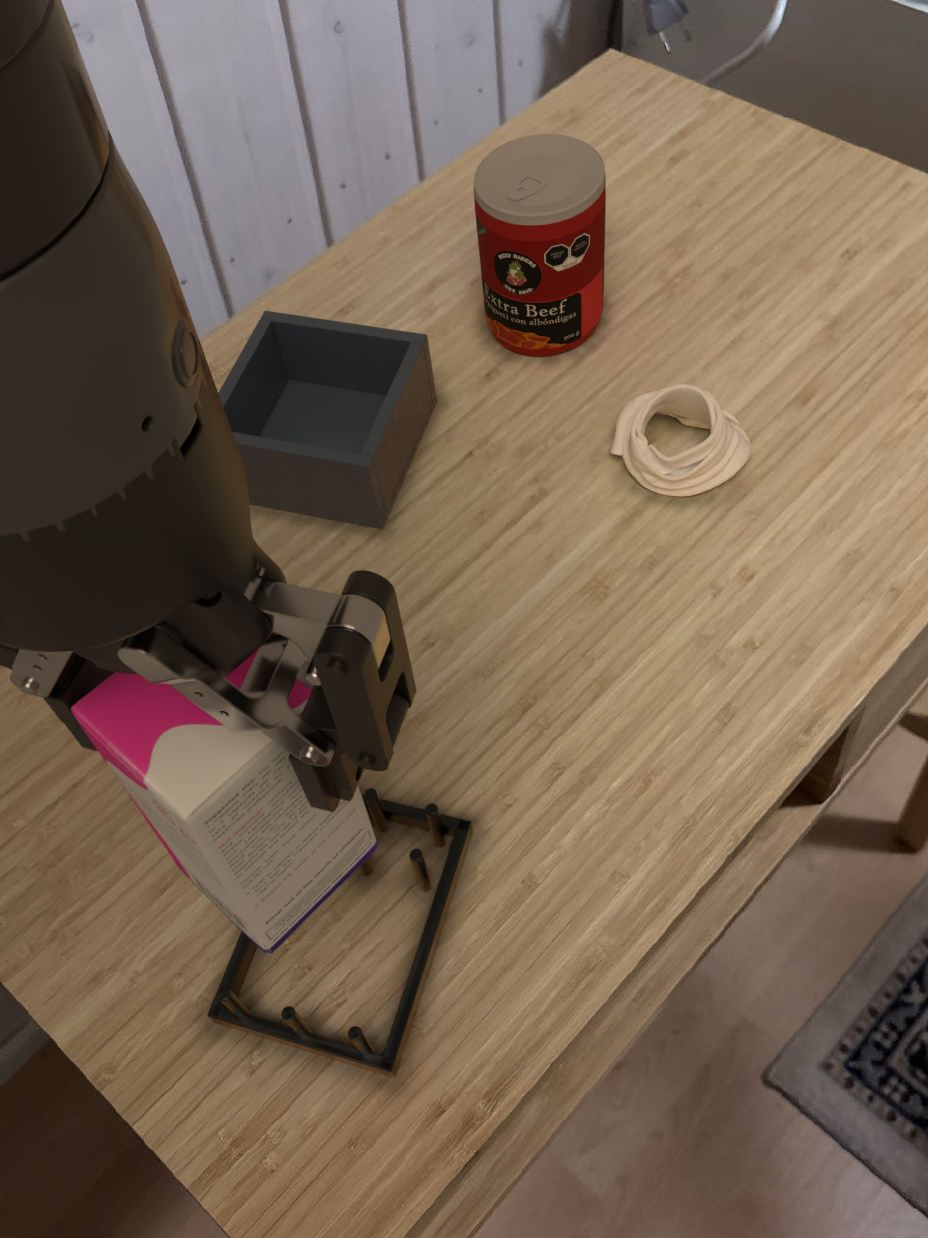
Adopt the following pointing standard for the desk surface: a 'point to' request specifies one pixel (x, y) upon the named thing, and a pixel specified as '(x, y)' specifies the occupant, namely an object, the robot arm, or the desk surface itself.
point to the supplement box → (227, 804)
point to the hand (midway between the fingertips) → (221, 754)
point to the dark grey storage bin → (328, 414)
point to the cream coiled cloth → (694, 465)
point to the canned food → (541, 242)
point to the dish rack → (362, 1053)
